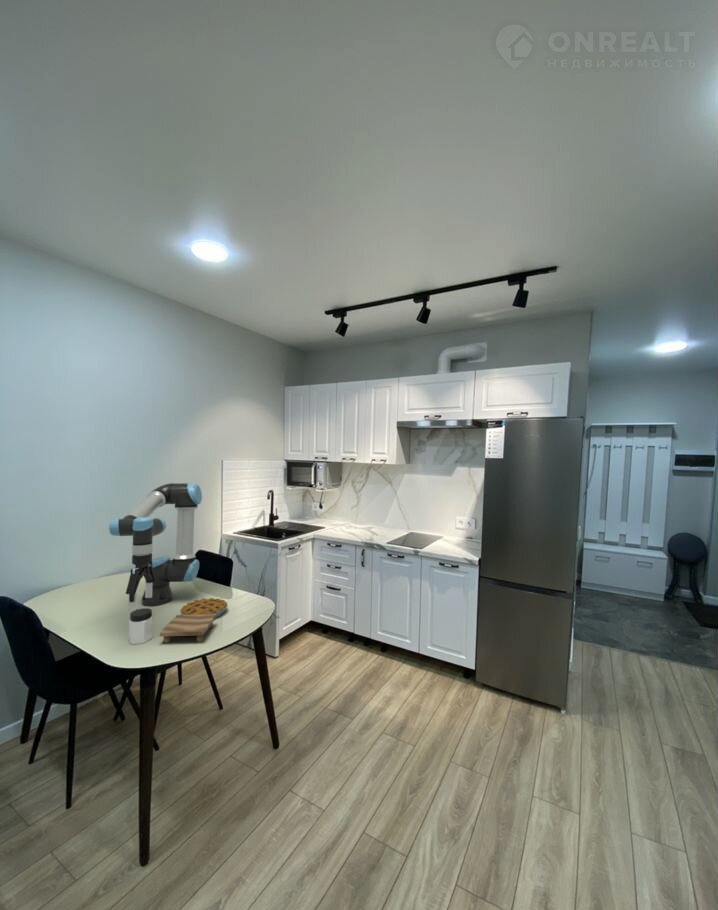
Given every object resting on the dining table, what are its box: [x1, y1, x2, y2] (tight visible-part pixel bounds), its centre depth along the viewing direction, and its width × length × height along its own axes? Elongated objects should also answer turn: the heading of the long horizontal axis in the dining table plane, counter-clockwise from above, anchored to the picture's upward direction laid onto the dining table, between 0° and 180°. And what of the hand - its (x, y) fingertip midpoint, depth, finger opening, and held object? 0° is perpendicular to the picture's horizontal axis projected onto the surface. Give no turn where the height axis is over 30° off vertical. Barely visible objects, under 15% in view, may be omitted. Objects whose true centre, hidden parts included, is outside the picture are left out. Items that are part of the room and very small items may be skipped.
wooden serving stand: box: [158, 614, 216, 644], centre depth 165 cm, size 18×18×5 cm
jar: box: [128, 607, 153, 646], centre depth 160 cm, size 9×8×12 cm
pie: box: [179, 597, 228, 619], centre depth 187 cm, size 22×22×5 cm
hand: (140, 603), depth 160 cm, fingers open, 13 cm apart
